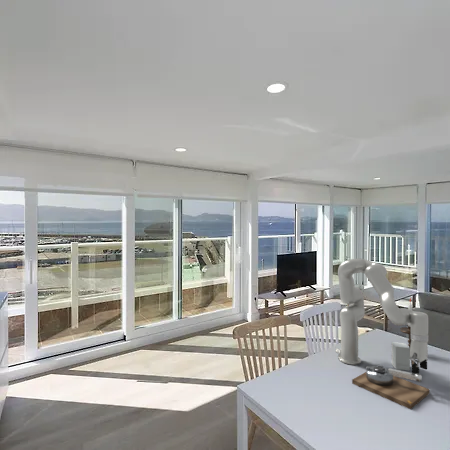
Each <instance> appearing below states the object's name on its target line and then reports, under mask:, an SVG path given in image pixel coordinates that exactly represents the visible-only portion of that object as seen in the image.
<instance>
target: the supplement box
mask: <svg viewBox="0 0 450 450" xmlns="http://www.w3.org/2000/svg"><path fill="white" fill-rule="evenodd" d="M391 365H392V366H393V369H395V370H400V371H406V372H409V371H410V370H411V359H410V348H409V346H408V344H406V343H405V342H393V341H392V342H391Z"/></svg>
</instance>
